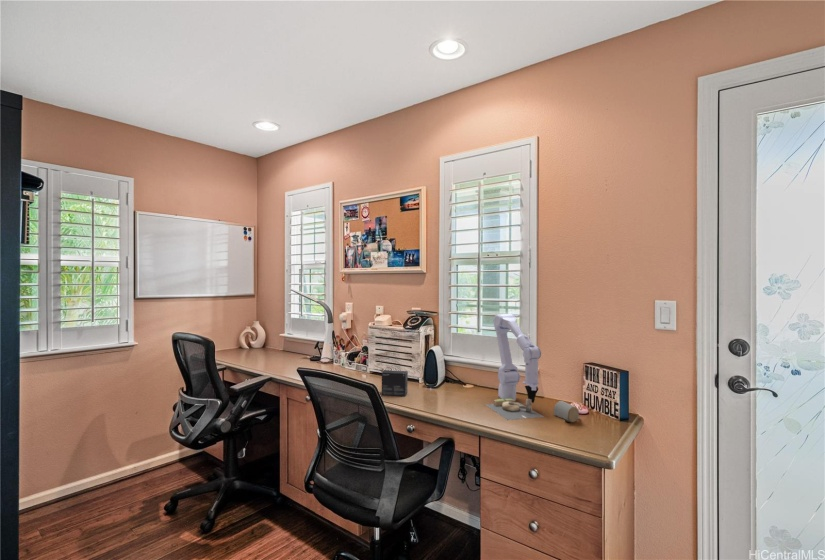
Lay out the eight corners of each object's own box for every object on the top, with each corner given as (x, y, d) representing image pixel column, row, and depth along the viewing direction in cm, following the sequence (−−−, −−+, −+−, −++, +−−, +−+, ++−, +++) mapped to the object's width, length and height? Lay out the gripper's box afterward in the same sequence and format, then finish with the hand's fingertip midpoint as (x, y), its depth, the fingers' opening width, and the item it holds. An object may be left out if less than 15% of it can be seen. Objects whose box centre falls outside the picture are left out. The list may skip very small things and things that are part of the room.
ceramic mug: (568, 424, 170) (569, 406, 171) (553, 419, 178) (553, 401, 178) (584, 421, 176) (585, 403, 176) (568, 415, 183) (569, 398, 183)
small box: (407, 393, 216) (408, 370, 216) (405, 396, 209) (406, 373, 209) (383, 391, 218) (384, 369, 218) (381, 395, 211) (381, 372, 211)
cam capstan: (500, 409, 185) (500, 397, 185) (505, 404, 191) (505, 393, 192) (529, 414, 178) (529, 402, 178) (533, 409, 185) (533, 397, 185)
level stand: (484, 407, 192) (484, 399, 192) (518, 405, 197) (518, 396, 197) (507, 423, 171) (507, 413, 171) (544, 420, 176) (544, 410, 176)
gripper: (520, 369, 194) (520, 397, 194) (525, 376, 180) (524, 406, 180) (535, 369, 193) (535, 397, 193) (541, 376, 179) (541, 407, 179)
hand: (531, 402), depth 186 cm, fingers closed
